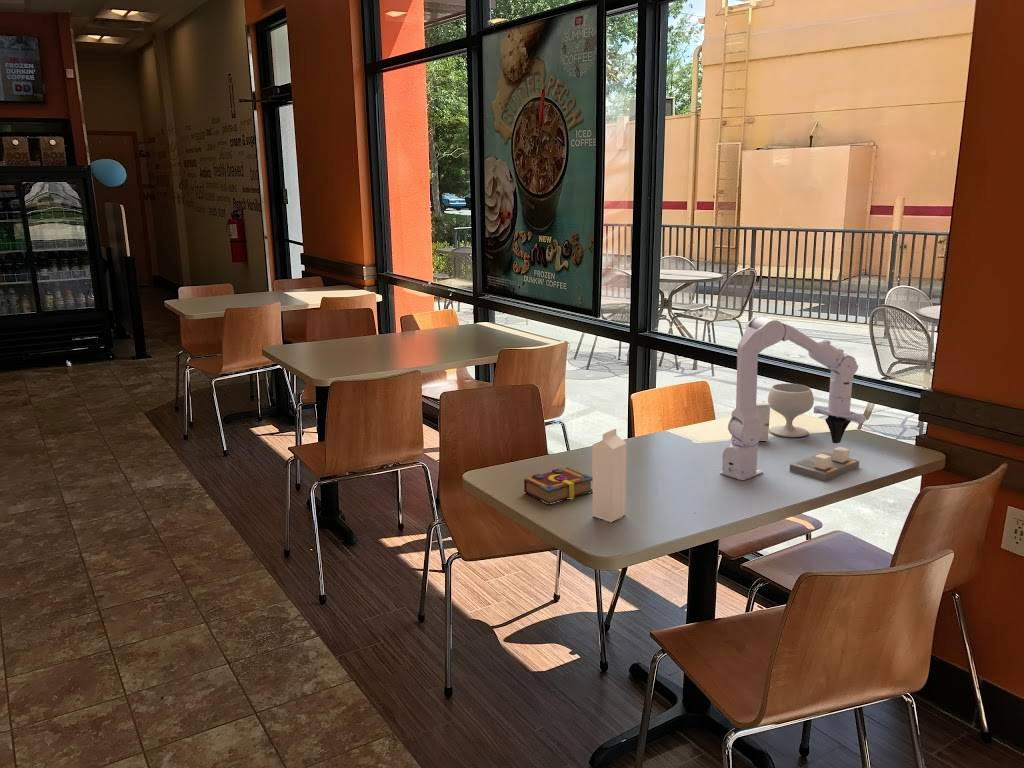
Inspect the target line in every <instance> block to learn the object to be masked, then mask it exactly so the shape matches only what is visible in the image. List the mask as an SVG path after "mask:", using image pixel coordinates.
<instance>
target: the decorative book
mask: <svg viewBox="0 0 1024 768" xmlns="http://www.w3.org/2000/svg"><path fill="white" fill-rule="evenodd" d="M592 482H593V476H590V475H588V474H586V473H584V474H583V473H581V472H578V471H576V470H574V469H571V468H569V467H565V468H561V469H559V468H556V469H555V468H554V469H552V470H551V471H550V472H549V471H548V472H546V473H543V474H540V473H537V474H533V475H532V476H531V477H528V478H524V479H523V486H524V487H523V489H524V490H523V492H526V493H528V494H530V495H532V496H534V497H536V498H538V499H540V500H542V501H544V502H546V503H548V504H550V503H553V502H557V501H561V500H563V501H565V500H564V499H567V498H573V497H574V496H577V497H579V496H578V495H580V496H582V495H583V494H586V493H589V492H592V491H593V488H591V487H592V485H591V484H592ZM526 493H525V494H526ZM528 494H527V495H528ZM530 495H529V496H530ZM532 496H531V497H532ZM583 496H584V495H583ZM534 497H533V498H534ZM536 498H535V499H536ZM574 498H575V497H574ZM538 499H537V500H538ZM540 500H539V501H540ZM567 500H568V499H567ZM561 502H562V501H561Z"/></svg>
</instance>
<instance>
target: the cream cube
mask: <svg viewBox="0 0 1024 768" xmlns="http://www.w3.org/2000/svg"><path fill="white" fill-rule="evenodd" d="M832 454H833V460H834V461H838V462H841V463H843V462H845V461H848V460H849V458H850V449H849V448H845V447H843V446H842V447H841V446H838V447H836V448H833V449H832Z"/></svg>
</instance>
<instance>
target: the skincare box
mask: <svg viewBox="0 0 1024 768" xmlns="http://www.w3.org/2000/svg"><path fill="white" fill-rule="evenodd" d="M756 411H757V414H758V417H759V420H760V427H761V429H762V438H761V440H760V441H766V442H768V441H769V432H770V431H769V429H770V415H771V407H770V404H769V403H768V401H765V400H764V401H756Z"/></svg>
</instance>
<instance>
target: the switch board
mask: <svg viewBox="0 0 1024 768" xmlns="http://www.w3.org/2000/svg"><path fill="white" fill-rule="evenodd" d="M819 454H825V455H828V456H831V467H830V468H827V469H825V470H823V469H819V468H815V467H814V462H815V456H817V455H819ZM858 468H859V469H860V460H857V459H855V458H850V457H849V460H848V461H845V462H843V463H841V462H838V461H834V460H833V452H827V451H822V452H820V453H817V454H814V455H811V456H808V457H806V458H803V459H801V460H797V461H795V462H793V463H790V464H789V472H792V473H795V474H799V475H802V476H805V477H809V478H812V479H816V480H819V481H822V482H827V481H828V480H832V479H834V478H837V477H839V476H842V475H844V474H846V473H847V474H848V473H850V472H851V471H854V470H856V469H858Z"/></svg>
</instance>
